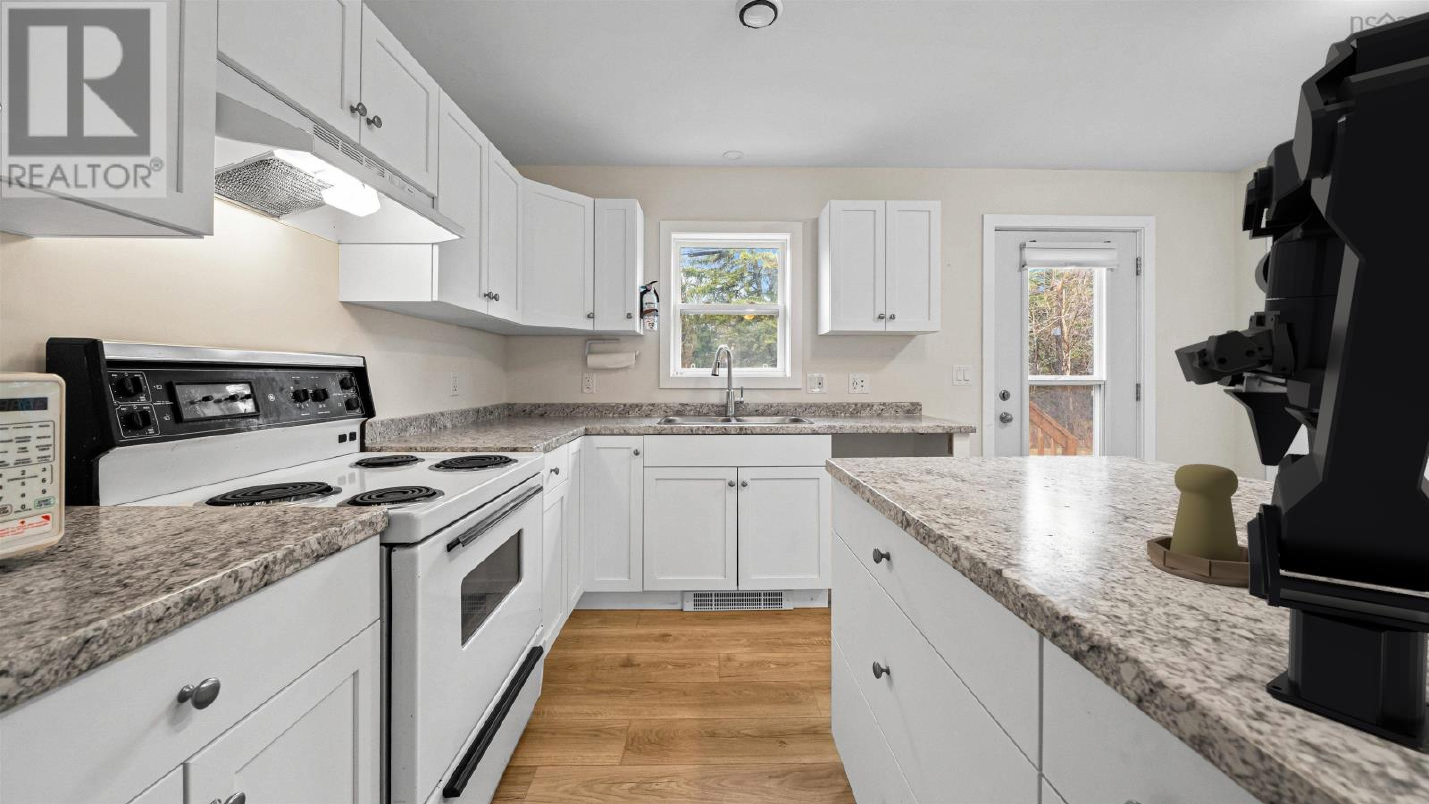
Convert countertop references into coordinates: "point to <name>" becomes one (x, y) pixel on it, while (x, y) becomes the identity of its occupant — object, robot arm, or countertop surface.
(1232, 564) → the walnut coaster
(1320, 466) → the robot arm
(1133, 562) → the countertop surface
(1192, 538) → the cork
